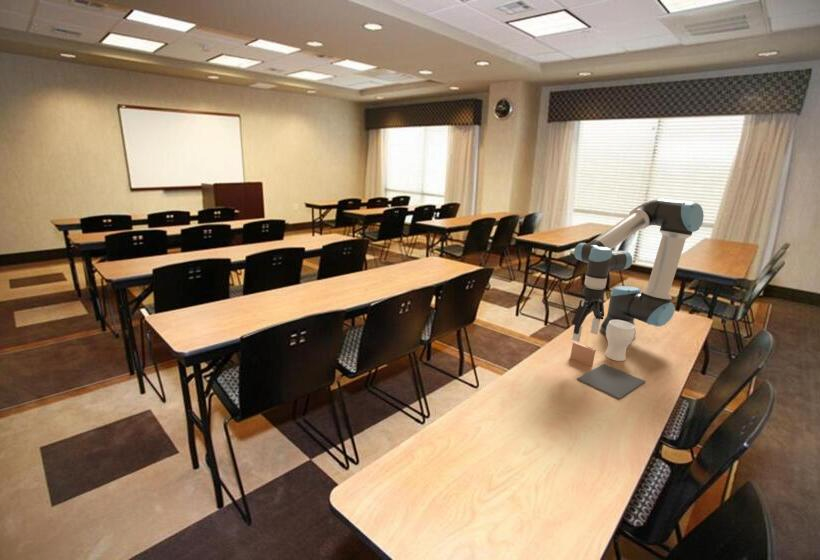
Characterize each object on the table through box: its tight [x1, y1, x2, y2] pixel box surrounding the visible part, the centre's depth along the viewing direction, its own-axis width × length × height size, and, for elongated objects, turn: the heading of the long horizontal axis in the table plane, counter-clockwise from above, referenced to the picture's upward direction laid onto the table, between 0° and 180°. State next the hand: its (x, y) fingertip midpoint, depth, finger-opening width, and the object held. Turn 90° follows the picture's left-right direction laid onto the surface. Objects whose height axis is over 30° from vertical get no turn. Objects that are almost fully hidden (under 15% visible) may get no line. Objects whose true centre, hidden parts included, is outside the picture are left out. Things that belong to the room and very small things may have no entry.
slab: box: [570, 341, 596, 367], centre depth 165 cm, size 2×9×7 cm, turn 38°
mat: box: [576, 363, 646, 400], centre depth 152 cm, size 20×16×1 cm
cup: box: [604, 320, 636, 362], centre depth 169 cm, size 11×11×15 cm
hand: (585, 337), depth 163 cm, fingers open, 13 cm apart
